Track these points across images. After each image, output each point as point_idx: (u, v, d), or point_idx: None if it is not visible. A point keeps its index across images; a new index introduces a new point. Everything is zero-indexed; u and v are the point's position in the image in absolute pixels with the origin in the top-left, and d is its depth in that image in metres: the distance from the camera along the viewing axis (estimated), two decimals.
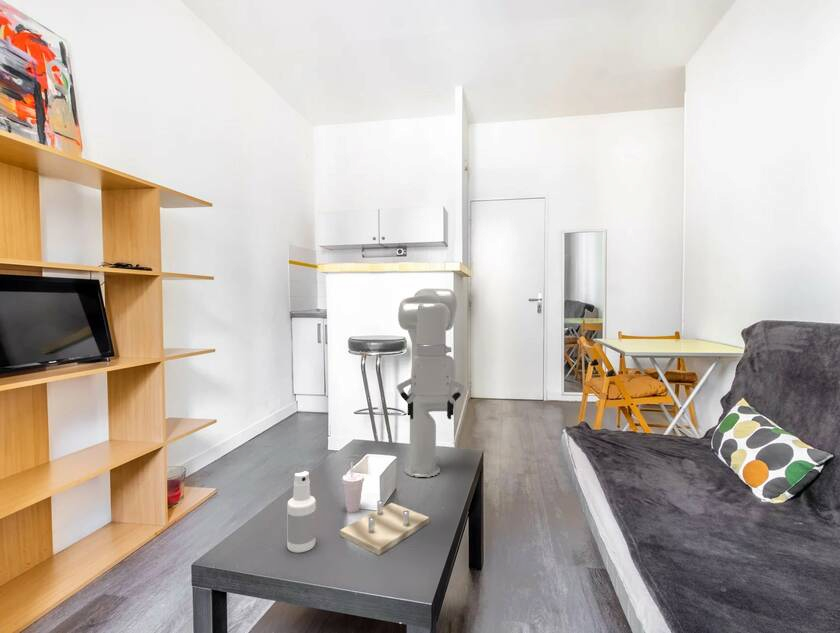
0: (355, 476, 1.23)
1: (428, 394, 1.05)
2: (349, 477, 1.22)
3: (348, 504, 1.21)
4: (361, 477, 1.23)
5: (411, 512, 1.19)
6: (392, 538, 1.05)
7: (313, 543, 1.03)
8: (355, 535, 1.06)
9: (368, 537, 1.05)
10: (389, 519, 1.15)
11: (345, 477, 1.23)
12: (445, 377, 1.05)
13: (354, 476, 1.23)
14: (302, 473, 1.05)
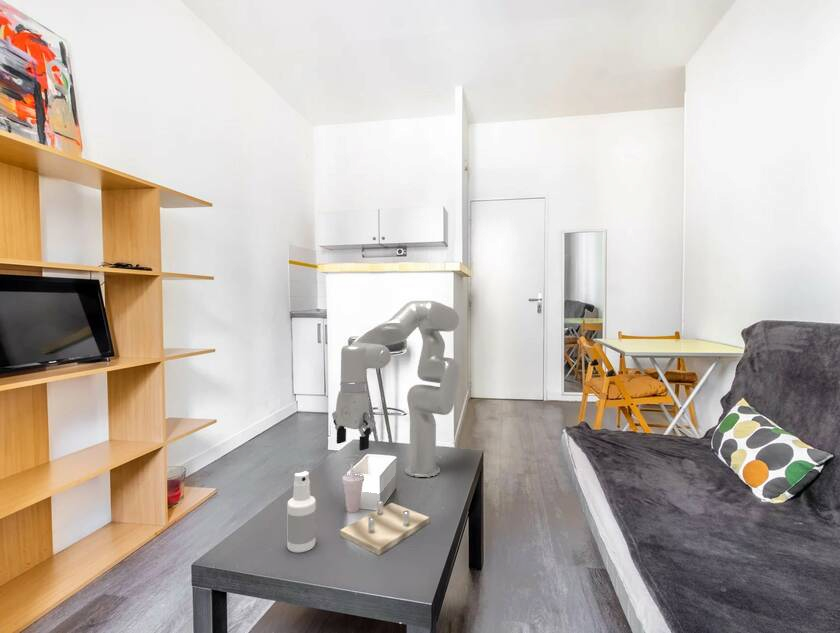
0: (355, 476, 1.23)
1: None
2: (349, 477, 1.22)
3: (348, 504, 1.21)
4: (361, 477, 1.23)
5: (411, 512, 1.19)
6: (392, 538, 1.05)
7: (313, 543, 1.03)
8: (355, 535, 1.06)
9: (368, 537, 1.05)
10: (389, 519, 1.15)
11: (345, 477, 1.23)
12: None
13: (354, 476, 1.23)
14: (302, 473, 1.05)
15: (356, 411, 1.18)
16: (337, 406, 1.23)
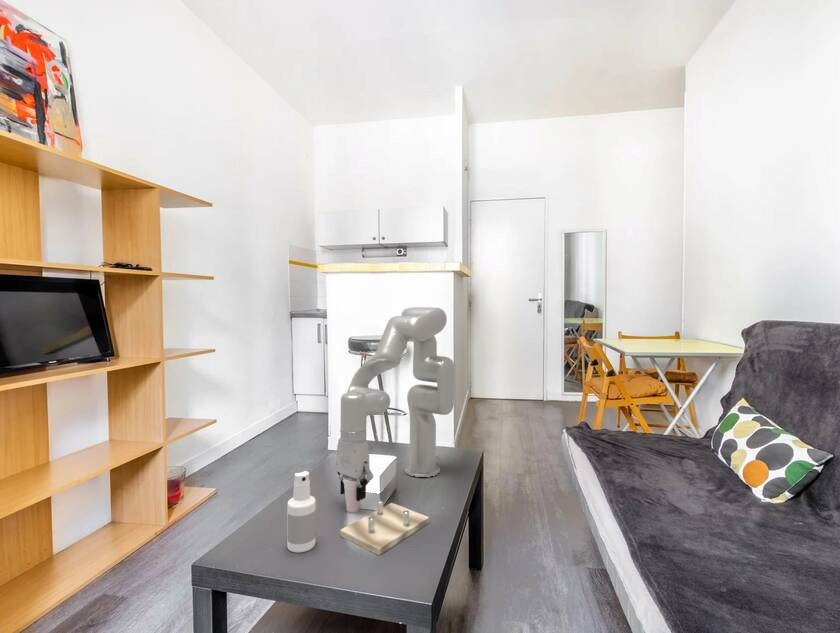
0: None
1: None
2: (349, 477, 1.22)
3: (348, 504, 1.21)
4: (361, 477, 1.23)
5: (411, 512, 1.19)
6: (392, 538, 1.05)
7: (313, 543, 1.03)
8: (355, 535, 1.06)
9: (368, 537, 1.05)
10: (389, 519, 1.15)
11: (345, 477, 1.23)
12: None
13: None
14: (302, 473, 1.05)
15: (356, 461, 1.19)
16: (337, 454, 1.23)
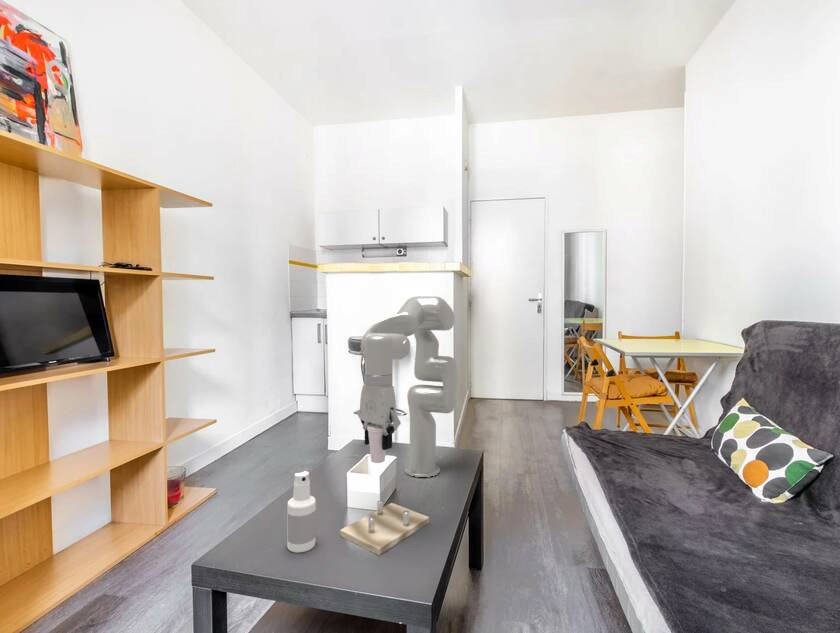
0: (381, 425, 1.14)
1: None
2: (374, 425, 1.14)
3: (373, 454, 1.13)
4: (387, 426, 1.14)
5: (411, 512, 1.19)
6: (392, 538, 1.05)
7: (313, 543, 1.03)
8: (355, 535, 1.06)
9: (368, 537, 1.05)
10: (389, 519, 1.15)
11: (370, 425, 1.14)
12: None
13: (379, 425, 1.14)
14: (302, 473, 1.05)
15: (382, 406, 1.10)
16: (361, 400, 1.15)
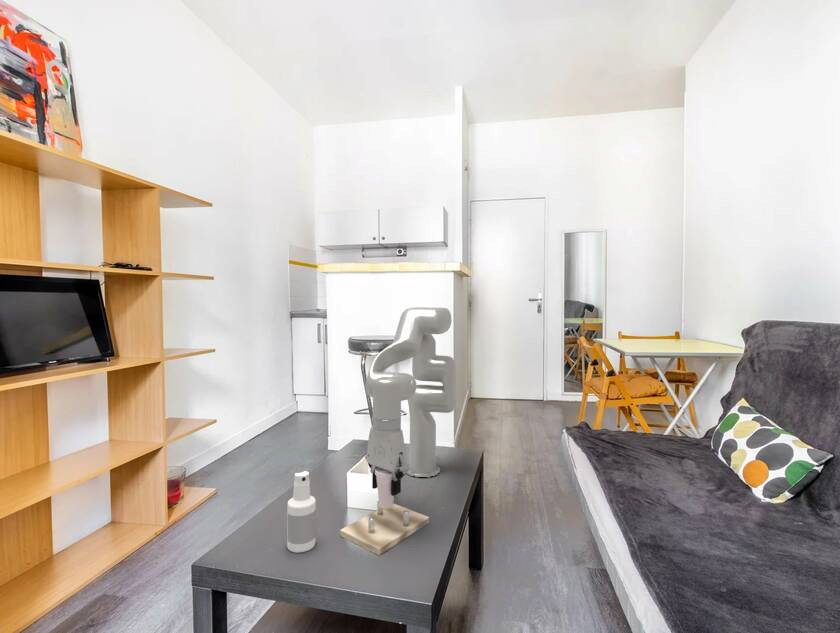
0: None
1: None
2: (383, 470, 1.11)
3: (381, 499, 1.11)
4: (396, 470, 1.12)
5: (411, 512, 1.19)
6: (392, 538, 1.05)
7: (313, 543, 1.03)
8: (355, 535, 1.06)
9: (368, 537, 1.05)
10: (389, 519, 1.15)
11: (378, 470, 1.12)
12: None
13: None
14: (302, 473, 1.05)
15: (391, 451, 1.08)
16: (369, 444, 1.13)
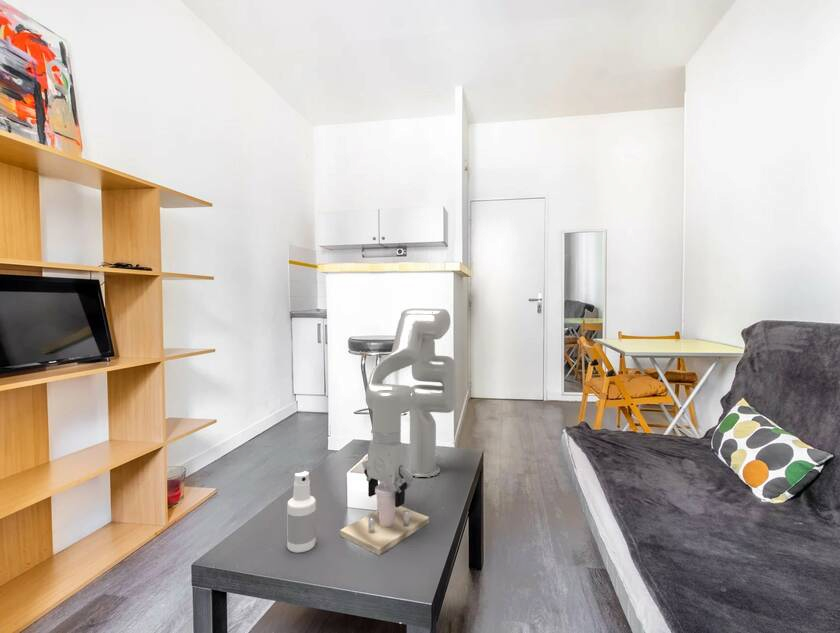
0: (389, 487, 1.12)
1: None
2: (383, 488, 1.12)
3: (382, 518, 1.11)
4: None
5: (411, 512, 1.19)
6: (392, 538, 1.05)
7: (313, 543, 1.03)
8: (355, 535, 1.06)
9: (368, 537, 1.05)
10: None
11: (378, 488, 1.12)
12: None
13: (388, 487, 1.12)
14: (302, 473, 1.05)
15: (391, 465, 1.08)
16: (369, 457, 1.13)
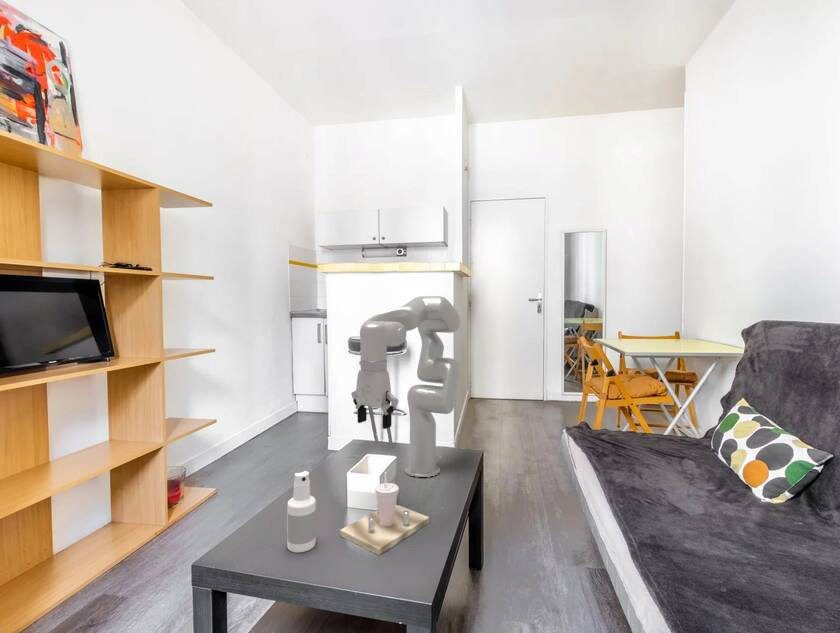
0: (389, 487, 1.12)
1: None
2: (383, 488, 1.12)
3: (382, 518, 1.11)
4: (396, 488, 1.12)
5: (411, 512, 1.19)
6: (392, 538, 1.05)
7: (313, 543, 1.03)
8: (355, 535, 1.06)
9: (368, 537, 1.05)
10: None
11: (378, 488, 1.12)
12: None
13: (388, 487, 1.12)
14: (302, 473, 1.05)
15: (378, 389, 1.17)
16: (357, 385, 1.21)
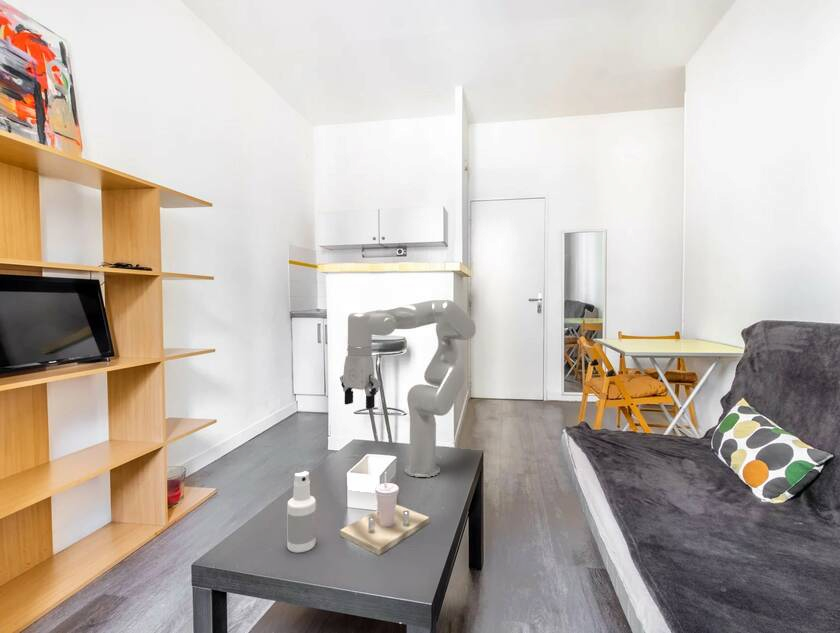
0: (389, 487, 1.12)
1: None
2: (383, 488, 1.12)
3: (382, 518, 1.11)
4: (396, 488, 1.12)
5: (411, 512, 1.19)
6: (392, 538, 1.05)
7: (313, 543, 1.03)
8: (355, 535, 1.06)
9: (368, 537, 1.05)
10: None
11: (378, 488, 1.12)
12: None
13: (388, 487, 1.12)
14: (302, 473, 1.05)
15: (362, 373, 1.28)
16: (345, 369, 1.33)
